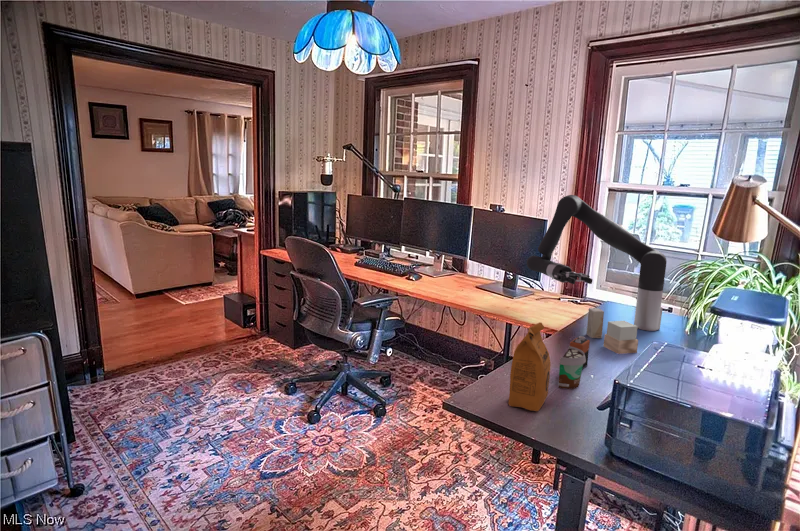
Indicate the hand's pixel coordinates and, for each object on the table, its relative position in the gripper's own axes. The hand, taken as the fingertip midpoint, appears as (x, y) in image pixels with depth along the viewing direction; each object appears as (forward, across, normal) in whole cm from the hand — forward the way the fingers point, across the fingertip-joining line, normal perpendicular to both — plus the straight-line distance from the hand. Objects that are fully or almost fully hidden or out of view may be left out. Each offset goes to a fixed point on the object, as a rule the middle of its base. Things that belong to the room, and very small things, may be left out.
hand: (583, 281), depth 189 cm
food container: (+48, -39, +19) cm, 64 cm away
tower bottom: (+26, -1, +19) cm, 32 cm away
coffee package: (+54, -58, +19) cm, 82 cm away
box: (+11, 0, +20) cm, 23 cm away
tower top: (+26, -1, +14) cm, 29 cm away
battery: (+36, -28, +19) cm, 50 cm away
